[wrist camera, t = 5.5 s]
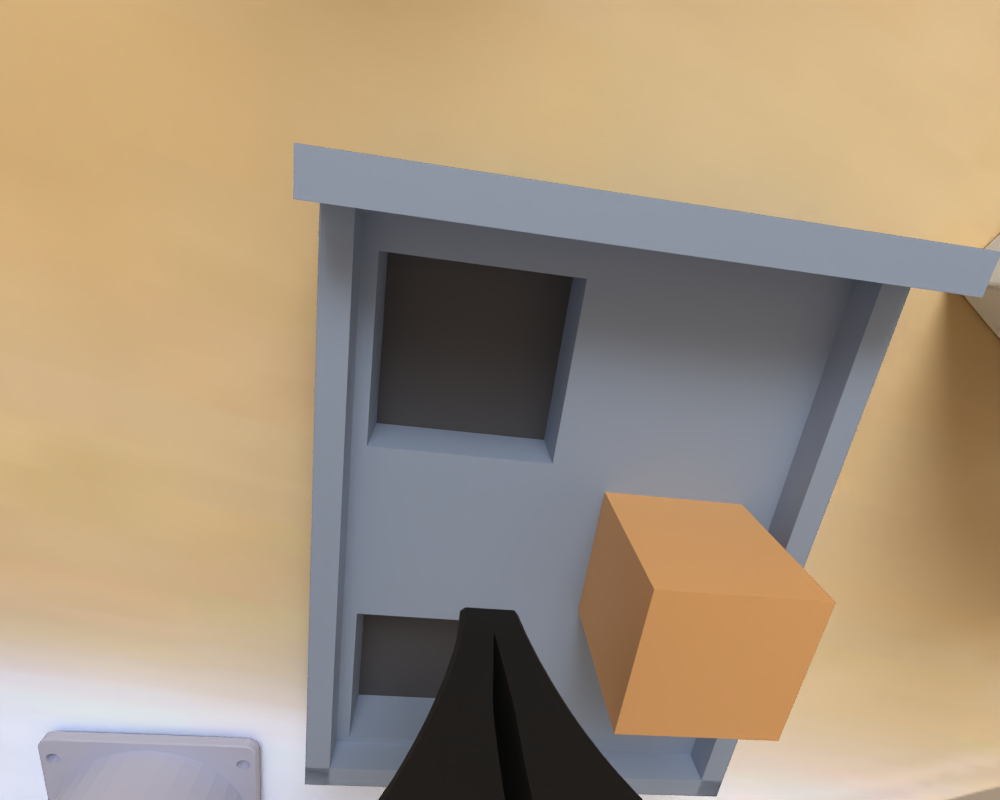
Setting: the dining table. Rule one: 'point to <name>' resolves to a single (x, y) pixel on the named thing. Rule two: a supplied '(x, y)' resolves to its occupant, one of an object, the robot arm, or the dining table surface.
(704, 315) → the tray
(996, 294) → the small box
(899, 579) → the dining table surface
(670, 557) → the block
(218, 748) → the robot arm
